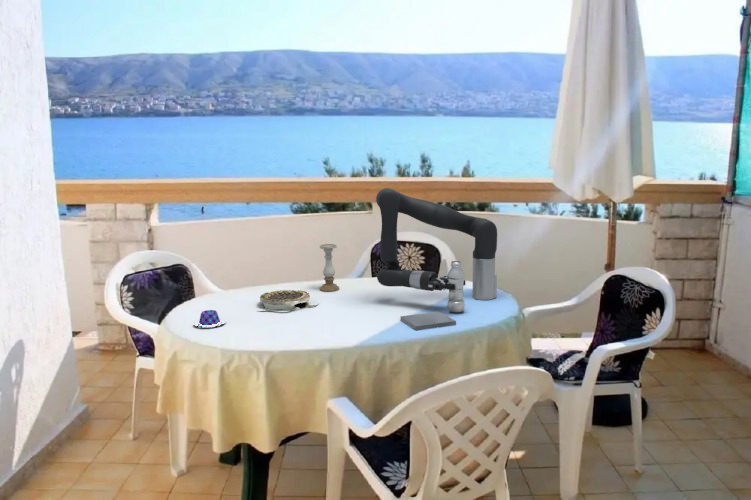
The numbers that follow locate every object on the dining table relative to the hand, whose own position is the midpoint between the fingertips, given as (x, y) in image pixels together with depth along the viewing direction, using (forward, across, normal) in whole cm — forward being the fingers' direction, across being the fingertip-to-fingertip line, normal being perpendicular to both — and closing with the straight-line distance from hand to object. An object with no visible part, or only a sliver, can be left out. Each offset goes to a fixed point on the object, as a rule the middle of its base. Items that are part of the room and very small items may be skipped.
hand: (460, 285), depth 249 cm
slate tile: (-4, -18, +11) cm, 21 cm away
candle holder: (-68, +5, +11) cm, 69 cm away
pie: (-68, -24, +12) cm, 74 cm away
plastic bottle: (-2, 0, +11) cm, 11 cm away
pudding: (-74, -61, +12) cm, 96 cm away
